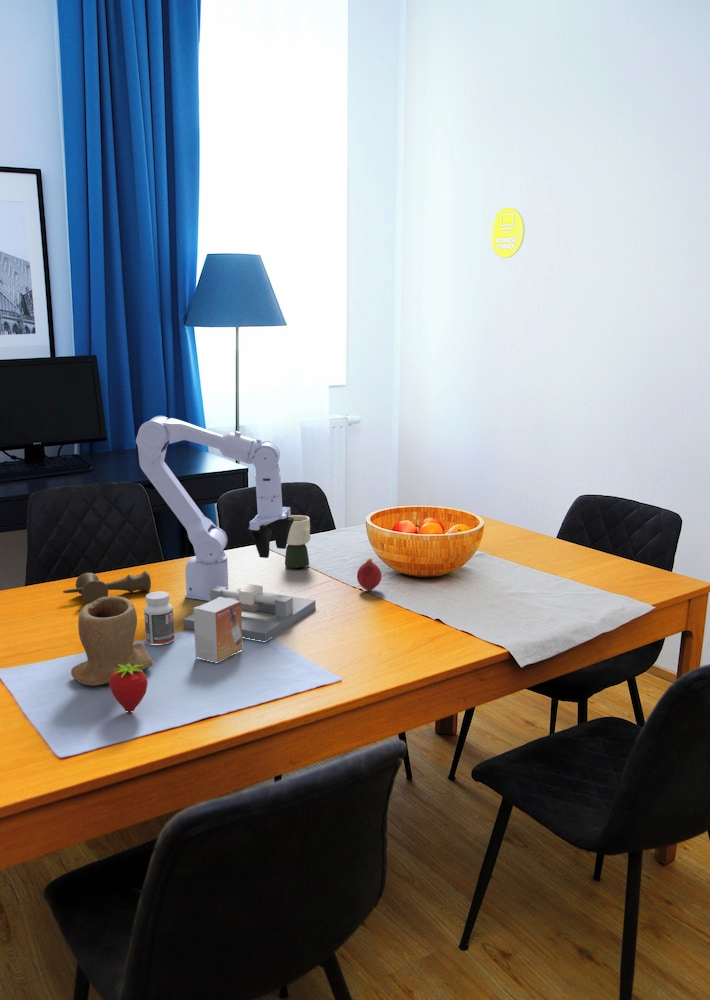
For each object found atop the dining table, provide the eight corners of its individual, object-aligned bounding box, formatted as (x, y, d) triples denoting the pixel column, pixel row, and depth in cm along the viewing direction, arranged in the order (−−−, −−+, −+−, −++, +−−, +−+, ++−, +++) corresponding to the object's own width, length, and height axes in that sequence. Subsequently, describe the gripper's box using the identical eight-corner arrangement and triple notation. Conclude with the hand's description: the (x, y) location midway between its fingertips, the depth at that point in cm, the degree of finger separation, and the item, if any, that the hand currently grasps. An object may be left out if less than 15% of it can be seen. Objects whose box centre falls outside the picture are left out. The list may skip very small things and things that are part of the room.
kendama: (155, 598, 209) (67, 610, 200) (144, 588, 218) (59, 599, 209) (154, 574, 208) (65, 584, 199) (143, 564, 217) (58, 574, 207)
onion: (379, 595, 208) (379, 562, 206) (354, 594, 209) (354, 561, 208) (383, 587, 214) (383, 555, 212) (359, 586, 215) (359, 554, 213)
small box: (217, 665, 170) (214, 612, 168) (194, 659, 173) (192, 607, 170) (243, 651, 177) (241, 600, 174) (221, 645, 179) (219, 595, 177)
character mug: (320, 568, 229) (320, 519, 226) (298, 574, 224) (297, 524, 221) (295, 559, 237) (294, 512, 234) (273, 565, 233) (272, 516, 230)
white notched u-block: (235, 608, 192) (234, 590, 192) (248, 600, 197) (247, 583, 196) (255, 611, 190) (254, 593, 189) (267, 603, 195) (266, 586, 194)
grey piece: (183, 628, 189) (182, 602, 188) (239, 596, 208) (238, 573, 207) (265, 642, 180) (264, 616, 179) (315, 608, 200) (315, 584, 199)
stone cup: (94, 698, 156) (88, 617, 153) (64, 677, 165) (57, 600, 161) (169, 673, 166) (165, 596, 163) (136, 655, 175) (132, 582, 171)
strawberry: (135, 699, 156) (131, 645, 153) (157, 714, 150) (153, 658, 148) (103, 710, 152) (99, 655, 149) (125, 725, 146) (121, 668, 144)
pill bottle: (179, 637, 183) (177, 592, 181) (165, 648, 178) (162, 600, 176) (155, 634, 185) (152, 589, 183) (140, 644, 180) (137, 598, 178)
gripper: (266, 503, 195) (271, 563, 198) (300, 489, 208) (303, 545, 211) (240, 501, 199) (244, 560, 202) (274, 488, 211) (278, 543, 214)
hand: (272, 552), depth 206 cm, fingers open, 7 cm apart
